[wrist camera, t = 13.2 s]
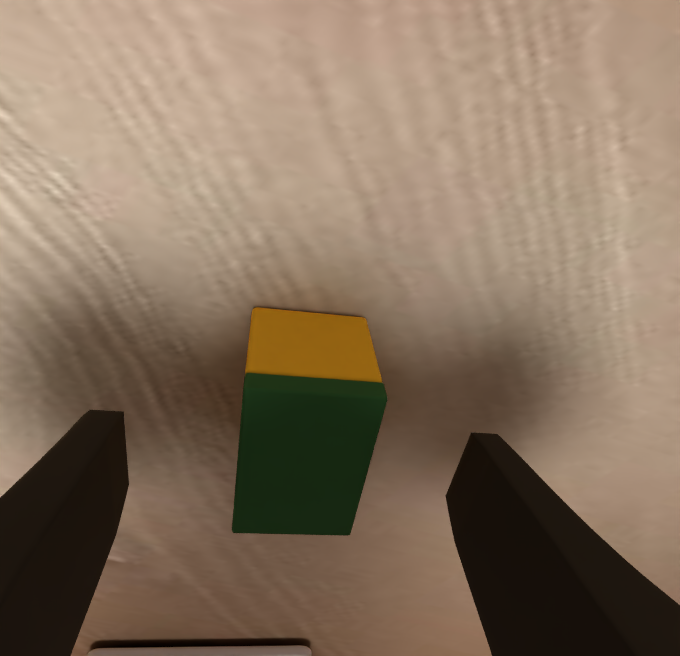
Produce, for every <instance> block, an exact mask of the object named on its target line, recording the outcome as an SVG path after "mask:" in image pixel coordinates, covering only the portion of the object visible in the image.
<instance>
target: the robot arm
mask: <svg viewBox="0 0 680 656" xmlns="http://www.w3.org/2000/svg"><path fill="white" fill-rule="evenodd" d="M128 486H129V478H128V465H127V452H126V438H125V425H124V412H121V411H104V410H89V411H88V412H86V413H85V414H84V415H83V416H82V417H81V418H80V419H79V420H78V421H77V422H76V423H75V424H74V425H73V426H72V428H71V429H70V430H69V431H68V432H67V433H66V434H65V435H64V436H63V437H62V438H61V439H60V440H59V441H58V442H57V443H56V444H55V445H54V446H53V447H52V448H51V449H50V450H49V451H48V452H47V453H46V454H45V455H44V456H43V457H42V458H41V459H40V460H39V461H38V462H37V463H36V464H35V465H34V466H33V467H32V468H31V469H30V470H29V471H28V472H27V473H26V474H25V475H24V476H23V477H21V478H20V479H19V480H18V481H17V482H16V483H15V484H14V485H13V486H12V487H11V488H10V489H9V490H8V491H7V492H6V493H5V494H4V495H3V496H1V497H0V656H70V655H71V653H72V650H73V647H74V645H75V642H76V640H77V637H78V634H79V632H80V629H81V626H82V624H83V621H84V618H85V616H86V613H87V611H88V608H89V605H90V603H91V600H92V597H93V595H94V592H95V590H96V587H97V584H98V582H99V579H100V576H101V574H102V571H103V568H104V566H105V563H106V560H107V558H108V555H109V552H110V550H111V547H112V544H113V542H114V539H115V536H116V533H117V529H118V526H119V522H120V518H121V514H122V510H123V506H124V502H125V498H126V494H127V490H128ZM446 500H447V506H448V511H449V517H450V522H451V527H452V531H453V536H454V541H455V544H456V547H457V550H458V554H459V557H460V560H461V563H462V566H463V569H464V572H465V575H466V578H467V581H468V584H469V587H470V590H471V593H472V596H473V599H474V602H475V605H476V608H477V611H478V614H479V617H480V620H481V623H482V626H483V629H484V632H485V635H486V638H487V641H488V644H489V647H490V650H491V654H492V656H680V605H679V604H678V603H676V602H675V601H674V600H673V599H671V598H670V597H669V596H668V595H667V594H665V593H664V592H663V591H662V590H660V589H659V588H658V587H657V586H656V585H654V584H653V583H652V582H651V581H649V580H648V579H647V578H646V577H645V576H643V575H642V574H641V573H640V572H639V571H638V570H636V569H635V568H634V567H633V566H632V565H631V564H629V563H628V562H627V561H626V560H625V559H624V558H623V557H622V556H621V555H619V554H618V553H617V552H616V551H615V550H614V549H613V548H612V547H611V546H610V545H609V544H607V543H606V542H605V541H604V540H603V539H602V538H601V537H600V536H599V535H598V534H597V533H596V532H594V531H593V530H592V529H591V528H590V527H589V526H588V525H587V524H586V523H585V522H584V521H583V520H582V519H581V518H580V517H579V516H578V515H577V514H576V513H575V512H574V511H573V510H572V509H571V508H570V507H569V506H568V505H567V504H566V503H565V502H564V501H563V500H562V499H561V498H560V497H559V496H558V495H557V494H556V493H555V492H554V491H553V490H552V489H551V488H550V487H549V486H548V485H547V484H546V483H545V482H544V481H543V480H542V479H541V478H540V477H539V476H538V475H537V474H536V473H535V472H534V470H533V469H532V468H531V467H530V466H529V465H528V464H527V463H526V462H525V461H524V460H523V459H522V458H521V457H520V456H519V455H518V454H517V453H516V452H515V451H514V450H513V449H512V448H511V447H510V446H509V445H508V444H507V443H506V442H505V441H504V440H503V439H502V438H501V437H500V436H499V435H498V434H488V433H471V435H470V437H469V440H468V442H467V444H466V447H465V449H464V452H463V454H462V457H461V459H460V462H459V464H458V467H457V469H456V472H455V474H454V477H453V479H452V481H451V484H450V486H449V489H448V491H447V494H446ZM87 656H312V652H311V649H310V648H308V647H306V646H301V645H291V646H215V647H140V648H97V649H93V650H91V651H90V652H89V653H87Z"/></svg>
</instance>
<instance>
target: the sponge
mask: <svg viewBox="0 0 680 656" xmlns="http://www.w3.org/2000/svg"><path fill="white" fill-rule="evenodd" d="M386 403H387V395H386V391H385V387H384V384H383V383H382V378H381V375H380V371H379V367H378V363H377V359H376V355H375V352H374V348H373V344H372V340H371V336H370V332H369V328H368V325H367V321H366V319H365V318H363V317H353V316H342V315H332V314H321V313H311V312H300V311H290V310H279V309H269V308H258V307H256V308H254V309H253V310H252V315H251V324H250V333H249V342H248V351H247V360H246V370H245V378H244V387H243V399H242V411H241V424H240V436H239V448H238V461H237V473H236V485H235V497H234V510H233V522H232V531H233V533H259V534H305V535H350V533H351V530H352V526H353V523H354V519H355V515H356V512H357V508H358V504H359V501H360V497H361V494H362V490H363V486H364V483H365V479H366V475H367V472H368V468H369V465H370V461H371V457H372V454H373V450H374V446H375V443H376V439H377V436H378V432H379V428H380V425H381V421H382V418H383V414H384V410H385V407H386Z"/></svg>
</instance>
